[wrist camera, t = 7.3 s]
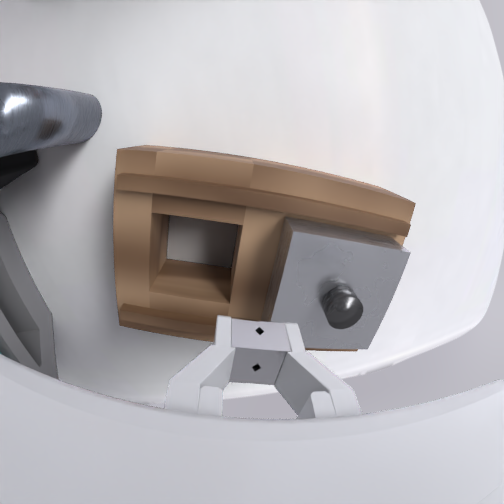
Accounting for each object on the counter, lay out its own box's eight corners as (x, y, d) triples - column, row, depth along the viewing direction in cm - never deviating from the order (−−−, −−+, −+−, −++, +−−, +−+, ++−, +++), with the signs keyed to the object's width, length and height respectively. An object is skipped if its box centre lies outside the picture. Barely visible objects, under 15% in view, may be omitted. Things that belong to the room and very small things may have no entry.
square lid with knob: (284, 216, 15) (298, 240, 12) (390, 236, 16) (421, 261, 12) (260, 319, 18) (265, 359, 14) (355, 326, 19) (374, 361, 15)
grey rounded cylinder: (65, 95, 15) (-25, 90, 6) (105, 92, 16) (17, 75, 7) (59, 143, 17) (-31, 162, 8) (98, 142, 17) (7, 159, 8)
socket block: (145, 145, 18) (111, 150, 12) (380, 187, 20) (422, 206, 14) (138, 290, 22) (116, 332, 17) (339, 315, 24) (360, 358, 19)
